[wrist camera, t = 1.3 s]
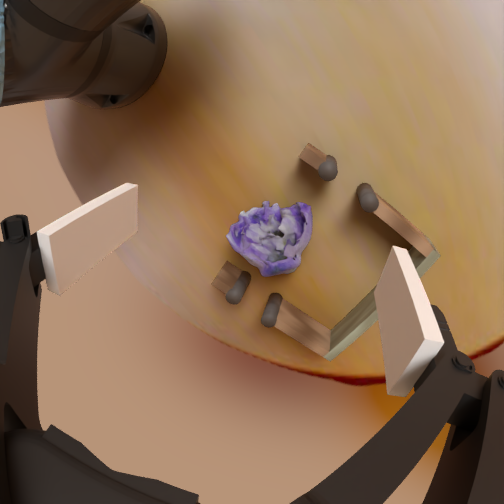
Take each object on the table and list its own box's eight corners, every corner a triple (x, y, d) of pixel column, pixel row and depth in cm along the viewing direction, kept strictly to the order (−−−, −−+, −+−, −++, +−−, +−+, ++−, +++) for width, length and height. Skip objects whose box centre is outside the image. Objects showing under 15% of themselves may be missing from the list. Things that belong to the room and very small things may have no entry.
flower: (334, 299, 31) (273, 250, 26) (272, 302, 38) (211, 262, 32) (347, 225, 36) (296, 169, 30) (290, 237, 42) (238, 192, 36)
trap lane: (221, 268, 41) (208, 288, 37) (310, 140, 32) (306, 144, 27) (330, 341, 42) (328, 365, 37) (431, 238, 32) (444, 256, 28)
